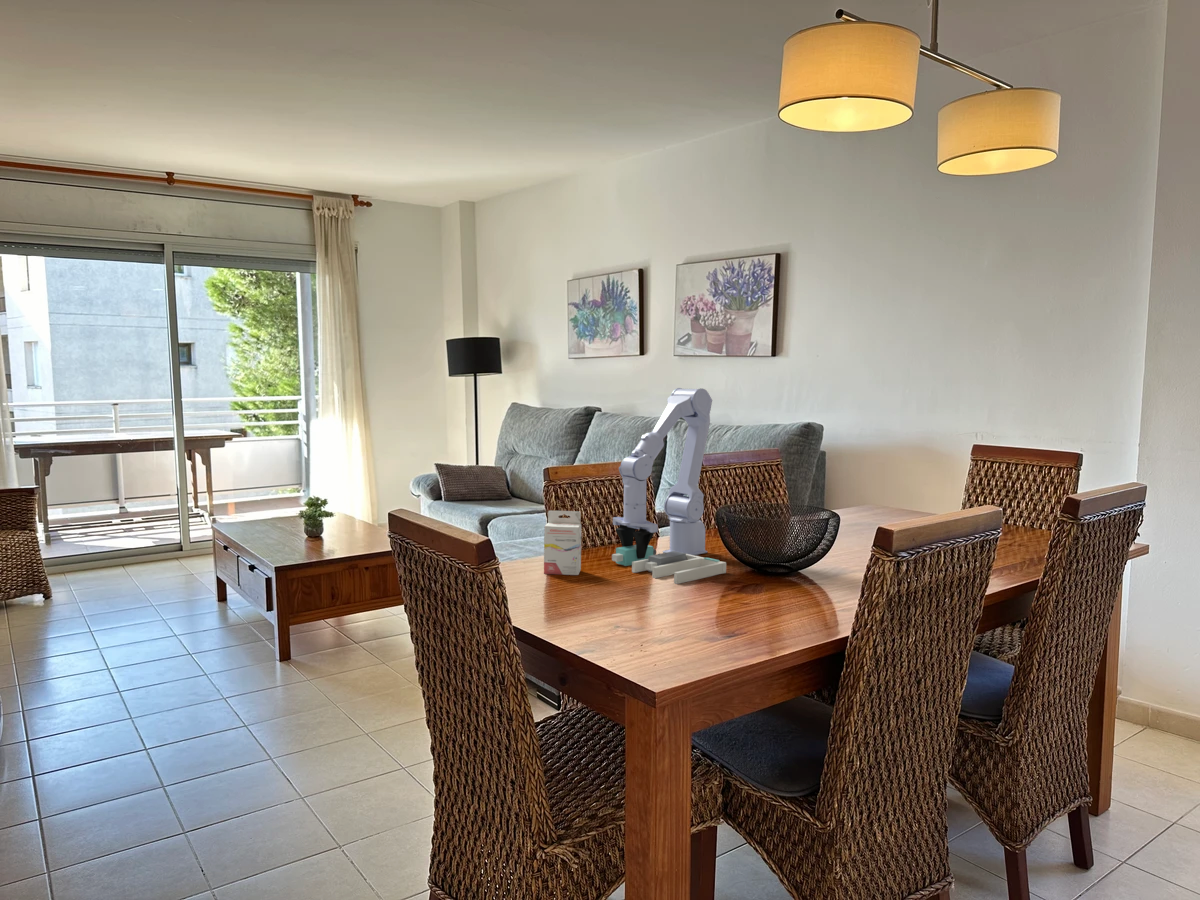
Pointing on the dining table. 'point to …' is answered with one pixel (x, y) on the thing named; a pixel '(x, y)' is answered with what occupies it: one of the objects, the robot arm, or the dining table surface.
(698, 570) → the cable comb
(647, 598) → the dining table surface
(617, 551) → the teal plug
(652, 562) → the grey plug
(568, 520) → the ink cartridge box
